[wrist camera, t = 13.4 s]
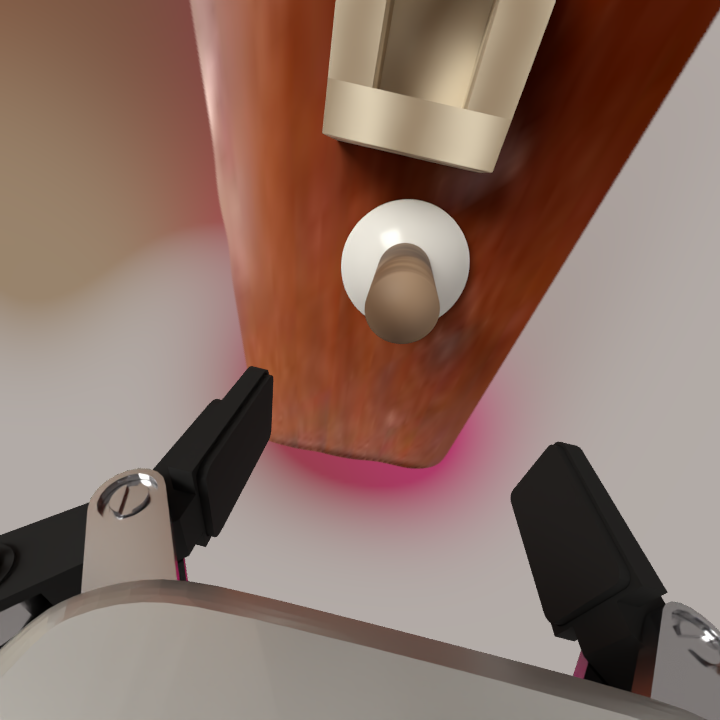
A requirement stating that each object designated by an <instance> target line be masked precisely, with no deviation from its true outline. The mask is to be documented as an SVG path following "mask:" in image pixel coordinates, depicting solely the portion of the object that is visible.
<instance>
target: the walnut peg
mask: <svg viewBox="0 0 720 720" xmlns="http://www.w3.org/2000/svg"><path fill="white" fill-rule="evenodd" d="M439 313H440V303H439V298H438V294H437V289H436V285H435V281H434V277H433V272H432V268H431V264H430V260H429V258H428V256H427V254H426V253H425V252H424V250H422V249H421V248H420V247H418V246H416V245H414V244H411V243H400V244H396V245H394V246H392V247H390V248H389V249H387V250H386V251H385V252H384V254H383V255H382V257H381V258H380V261H379V263H378V266H377V269H376V272H375V275H374V278H373V281H372V283H371V286H370V289H369V292H368V295H367V298H366V301H365V317H366V320H367V323H368V325H369V327H370V328H371V329H372V331H373V332H374V333H375V334H376V335H377V336H379V337H380V338H382V339H384V340H386V341H388V342H392V343H397V344H407V343H412V342H415V341H418V340H420V339H422V338H423V337H425V336H426V335H427V334H428V333H429V332H431V330H432V329H433V328H434V326H435V325H436V323H437V321H438V318H439Z"/></svg>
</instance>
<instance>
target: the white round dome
mask: <svg viewBox="0 0 720 720" xmlns="http://www.w3.org/2000/svg"><path fill="white" fill-rule="evenodd" d="M400 243H411V244H414V245H416V246H418V247H420V248H421V249H422V250H424V252H425V253H426V254H427V256H428V258H429V260H430V264H431V268H432V272H433V277H434V281H435V285H436V289H437V294H438V298H439V303H440V313H439V317H440V316H442V315H443V314H444V313H446V312H447V311H448V310H449V309H450V308H451V307H452V306H453V305H454V303H455V302H456V301H457V300H458V298H459V296H460V295H461V293H462V291H463V289H464V287H465V284H466V281H467V278H468V273H469V264H470V258H469V250H468V245H467V242H466V239H465V237H464V234H463V232H462V231H461V229H460V227H459V226H458V225H457V223H456V222H455V221H454V219H453V218H452V217H450V216H449V215H448V214H447V213H446V212H445V211H444V210H442V209H441V208H439V207H438V206H436V205H433V204H431V203H429V202H426V201H422V200H417V199H400V200H394V201H390V202H387V203H385V204H382V205H380V206H378V207H376V208H375V209H373V210H372V211H370V212H369V213H368V214H367V215H365V216H364V217H363V218H362V219H361V220H360V221H359V222H358V223H357V225H356V226H355V227H354V229H353V230H352V232H351V233H350V235H349V237H348V239H347V241H346V244H345V247H344V250H343V254H342V262H341V272H342V279H343V283H344V287H345V289H346V292H347V294H348V296H349V298H350V299H351V301H352V303H353V304H354V305H355V306H356V308H357V309H358V310H359V311H360V312H361V313H362V314H364V315H365V301H366V298H367V295H368V292H369V289H370V286H371V283H372V281H373V278H374V275H375V272H376V269H377V266H378V263H379V261H380V258H381V257H382V255H383V254H384V252H385V251H386V250H387V249H389V248H390V247H392V246H394V245H396V244H400Z"/></svg>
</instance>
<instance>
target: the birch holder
mask: <svg viewBox="0 0 720 720" xmlns="http://www.w3.org/2000/svg"><path fill="white" fill-rule="evenodd" d="M555 2H556V0H336V4H335V14H334V24H333V33H332V43H331V53H330V63H329V73H328V83H327V93H326V102H325V112H324V122H323V132H322V133H323V134H325V135H327V136H329V137H331V138H333V139H336V140H339V141H343V142H347V143H352V144H356V145H360V146H365V147H369V148H373V149H377V150H382V151H386V152H390V153H395V154H399V155H403V156H408V157H412V158H416V159H421V160H425V161H429V162H433V163H438V164H442V165H446V166H451V167H455V168H459V169H464V170H468V171H472V172H477V173H492V172H493V170H494V167H495V164H496V161H497V159H498V156H499V153H500V151H501V148H502V145H503V143H504V140H505V137H506V134H507V132H508V129H509V126H510V124H511V121H512V118H513V115H514V113H515V110H516V107H517V105H518V102H519V99H520V96H521V94H522V91H523V88H524V86H525V83H526V80H527V78H528V75H529V72H530V69H531V67H532V64H533V61H534V59H535V56H536V53H537V50H538V48H539V45H540V42H541V40H542V37H543V34H544V32H545V29H546V26H547V23H548V21H549V18H550V15H551V13H552V10H553V7H554V4H555Z"/></svg>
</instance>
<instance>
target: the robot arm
mask: <svg viewBox="0 0 720 720" xmlns="http://www.w3.org/2000/svg"><path fill="white" fill-rule="evenodd" d="M272 399H273V376H271V375H269V372H268V370H265V369H261V368H257V367H253V366H250V367H249V368H248V369H247V370H246V371H245V372H244V374H243V375H242V376H241V377H240V379H239V380H238V381H237V382H236V384H235V385H234V386H233V387H232V388H231V390H230V391H229V392H228V393H227V395H226V396H225V397H224V398H223V399H222V400H220V399H215V400H213V401H212V402H211V403H210V404H209V405H208V406H207V407H206V408H205V410H204V411H203V412H202V413H201V414H200V415H199V416H198V418H197V419H196V420H195V421H194V422H193V424H192V425H191V426H190V427H189V428H188V429H187V430H186V432H185V433H184V434H183V435H182V436H181V437H180V439H179V440H178V441H177V442H176V443H175V444H174V446H173V447H172V448H171V449H170V450H169V451H168V453H167V454H166V455H165V456H164V457H163V458H162V460H161V461H160V462H159V463H158V464H157V465H156V467H155V468H154V469H153V470H151V469H141V468H138V469H133V470H128V471H125V472H123V473H120V474H117V475H115V476H114V477H113V478H111V479H109V480H108V481H106V482H105V483H104V484H102V485H101V486H100V487H99V488H98V489H97V490H96V492H95V493H94V494H93V496H92V497H91V499H90V502H89V503H87V504H84V505H81V506H78V507H76V508H73V509H70V510H67V511H65V512H62V513H60V514H57V515H54V516H51V517H48V518H46V519H43V520H40V521H38V522H35V523H32V524H29V525H27V526H24V527H21V528H19V529H16V530H13V531H10V532H8V533H5V534H2V535H0V720H720V632H719V631H718V629H717V628H715V626H714V625H713V624H711V623H710V622H709V621H708V620H707V619H706V618H704V617H703V616H702V615H701V614H699V613H698V612H696V611H695V610H693V609H692V608H690V607H688V606H686V605H684V604H682V603H678V602H669V603H667V604H665V602H664V601H663V599H662V597H661V596H662V595H664V594H666V593H667V591H666V589H665V587H664V586H663V584H662V582H661V581H660V579H659V577H658V576H657V574H656V572H655V571H654V569H653V567H652V566H651V564H650V562H649V561H648V559H647V557H646V556H645V554H644V552H643V551H642V549H641V548H640V546H639V544H638V542H637V541H636V539H635V537H634V536H633V535H632V533H631V531H630V529H629V528H628V526H627V524H626V523H625V521H624V519H623V518H622V516H621V515H620V513H619V511H618V510H617V508H616V506H615V504H614V503H613V501H612V499H611V498H610V496H609V494H608V493H607V491H606V489H605V488H604V486H603V484H602V483H601V481H600V479H599V478H598V476H597V474H596V473H595V471H594V470H593V468H592V466H591V465H590V463H589V461H588V460H587V458H586V456H585V455H584V453H583V451H582V450H581V449H580V448H579V447H578V446H575V445H570V444H567V443H563V442H556V443H555V444H554V445H550V446H548V448H547V449H546V450H545V451H544V452H543V454H542V455H541V456H540V457H539V459H538V460H537V461H536V462H535V464H534V465H533V466H532V467H531V468H530V470H529V471H528V472H527V473H526V475H525V476H524V477H523V478H522V480H521V481H520V482H519V483H518V484H517V486H516V487H515V488H514V489H513V491H512V493H511V504H512V506H513V510H514V514H515V517H516V520H517V524H518V527H519V530H520V534H521V537H522V541H523V544H524V547H525V550H526V554H527V557H528V561H529V564H530V568H531V571H532V574H533V577H534V581H535V584H536V588H537V591H538V594H539V598H540V601H541V605H542V608H543V611H544V614H545V617H546V618H547V620H548V621H549V622H550V623H551V625H552V628H553V632H554V635H555V636H556V637H559V638H564V639H567V640H571V641H576V640H577V639H578V642H579V645H580V647H581V652H580V655H579V659H578V661H577V665H576V668H575V671H574V674H573V676H570V675H567V674H562V673H559V672H555V671H551V670H548V669H544V668H540V667H536V666H532V665H529V664H525V663H521V662H517V661H513V660H510V659H506V658H502V657H498V656H494V655H491V654H487V653H482V652H479V651H475V650H471V649H467V648H464V647H460V646H456V645H452V644H448V643H444V642H440V641H436V640H433V639H429V638H425V637H421V636H417V635H413V634H409V633H405V632H402V631H398V630H394V629H390V628H385V627H382V626H378V625H374V624H370V623H366V622H362V621H358V620H355V619H350V618H346V617H342V616H338V615H334V614H331V613H327V612H323V611H319V610H314V609H311V608H307V607H303V606H299V605H295V604H291V603H287V602H283V601H279V600H275V599H270V598H266V597H262V596H258V595H253V594H249V593H244V592H240V591H236V590H232V589H227V588H223V587H219V586H213V585H207V584H201V583H195V582H189V581H188V578H187V570H186V564H185V557H187V556H189V555H190V553H191V551H192V550H193V548H194V546H195V544H196V545H200V546H204V547H206V546H207V544H208V542H209V540H210V538H211V536H213V537H217V536H218V535H219V533H220V532H221V530H222V528H223V526H224V524H225V522H226V521H227V519H228V517H229V515H230V513H231V511H232V509H233V507H234V505H235V503H236V501H237V500H238V497H239V496H240V494H241V492H242V490H243V488H244V486H245V484H246V482H247V481H248V479H249V477H250V475H251V473H252V471H253V469H254V467H255V465H256V463H257V462H258V460H259V458H260V456H261V454H262V452H263V450H264V448H265V446H266V444H267V442H268V440H269V438H270V435H271V424H272Z"/></svg>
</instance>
